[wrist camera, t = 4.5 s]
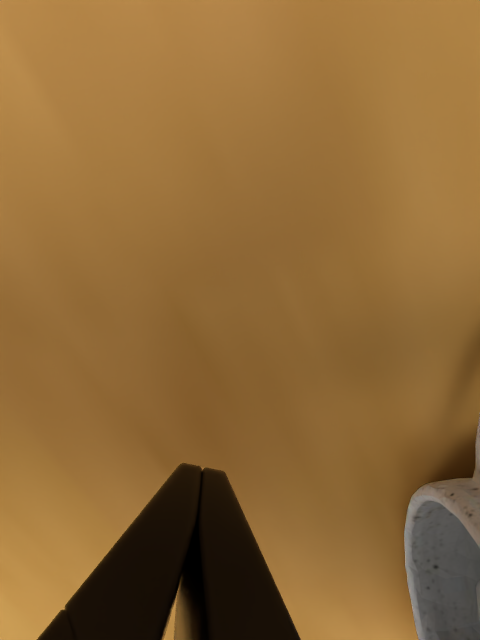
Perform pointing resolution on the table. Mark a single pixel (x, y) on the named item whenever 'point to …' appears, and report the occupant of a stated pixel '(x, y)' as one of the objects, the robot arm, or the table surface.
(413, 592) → the ceramic mug
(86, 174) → the table surface
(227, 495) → the robot arm
